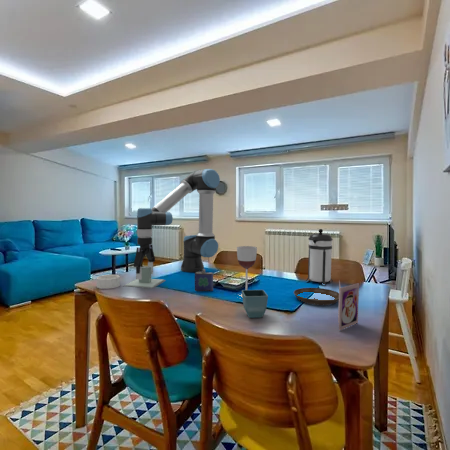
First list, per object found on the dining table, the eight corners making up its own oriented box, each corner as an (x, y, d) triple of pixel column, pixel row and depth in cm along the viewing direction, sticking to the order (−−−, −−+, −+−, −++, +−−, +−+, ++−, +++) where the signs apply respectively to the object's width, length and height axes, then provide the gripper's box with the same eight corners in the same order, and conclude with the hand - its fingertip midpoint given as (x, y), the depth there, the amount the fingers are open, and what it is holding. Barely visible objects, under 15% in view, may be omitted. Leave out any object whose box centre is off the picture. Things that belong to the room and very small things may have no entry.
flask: (213, 289, 150) (213, 268, 149) (212, 291, 147) (212, 270, 146) (195, 289, 150) (194, 268, 149) (194, 291, 147) (194, 269, 147)
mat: (166, 281, 167) (166, 280, 167) (153, 289, 150) (153, 288, 150) (138, 279, 170) (138, 278, 170) (122, 287, 153) (122, 286, 153)
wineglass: (258, 294, 143) (258, 246, 141) (253, 300, 133) (254, 249, 132) (239, 292, 146) (240, 245, 144) (233, 298, 136) (234, 248, 135)
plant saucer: (284, 296, 141) (285, 289, 141) (320, 291, 148) (320, 285, 148) (312, 310, 122) (312, 302, 122) (351, 304, 129) (352, 297, 129)
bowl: (123, 284, 159) (123, 275, 158) (112, 290, 148) (112, 280, 148) (105, 283, 161) (105, 274, 160) (92, 288, 150) (92, 278, 150)
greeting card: (341, 332, 100) (342, 288, 99) (322, 325, 106) (323, 283, 105) (359, 324, 107) (361, 283, 106) (341, 318, 113) (342, 279, 112)
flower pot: (241, 311, 119) (241, 289, 118) (262, 311, 119) (263, 289, 119) (244, 320, 110) (244, 296, 109) (267, 319, 111) (268, 296, 110)
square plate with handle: (163, 280, 166) (163, 265, 165) (152, 287, 151) (151, 271, 151) (138, 279, 169) (138, 264, 168) (125, 286, 154) (124, 269, 154)
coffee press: (339, 286, 159) (341, 230, 157) (309, 285, 159) (310, 229, 157) (328, 278, 176) (330, 227, 174) (301, 278, 176) (302, 227, 174)
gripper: (148, 234, 171) (148, 271, 173) (126, 239, 147) (126, 281, 148) (160, 235, 170) (160, 271, 171) (140, 239, 146) (140, 282, 147)
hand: (144, 276), depth 160 cm, fingers open, 13 cm apart
